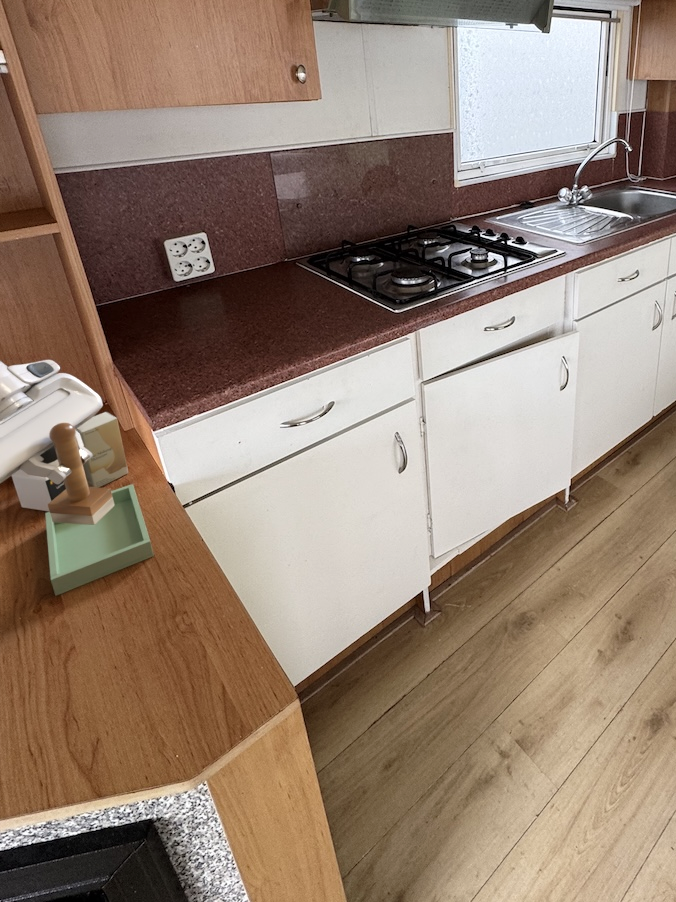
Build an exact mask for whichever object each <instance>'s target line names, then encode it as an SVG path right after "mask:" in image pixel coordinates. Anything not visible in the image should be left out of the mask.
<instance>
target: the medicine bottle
mask: <svg viewBox="0 0 676 902" xmlns="http://www.w3.org/2000/svg"><path fill="white" fill-rule="evenodd" d="M40 456H41V457H42V458H44V460H43V461H42V463H46V464H50V465H54V466H59V462H58V459H57V455H56V451H55V448H54V445H53V446H52V447H50V448H49V449H48V450H46V451H45V452H43V453H42V454H41V455H40ZM83 468H84V467H83ZM11 478H12V482H13V484H14V489H15V491H16V494H17V497H18V501H19V503H20V507H21V508H22V509H23V508H24V509H30V510H37V511H41V512H42V511H43V512H50V511H49V508H48V504H49V503H50V502H51V501H52V500H53V499H55V498H56V497H57V496H58V495H59V494H61V493H62V492H63V491H64V490H65V489H66V487H65V484H64V481H62V482H61V483H60V484H55V483H54V482H52V481H51V480H50V479H48V478H47V477H46V478H45V477H39V476H33V475H28V474H26V473H25V472H24V471H22V470H21V469H20V470H18V471H17V472H16V473H14V474H13V475H11ZM86 479H87V478H86ZM87 483H88V482H87ZM88 487H90V486H89V485H88Z"/></svg>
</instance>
